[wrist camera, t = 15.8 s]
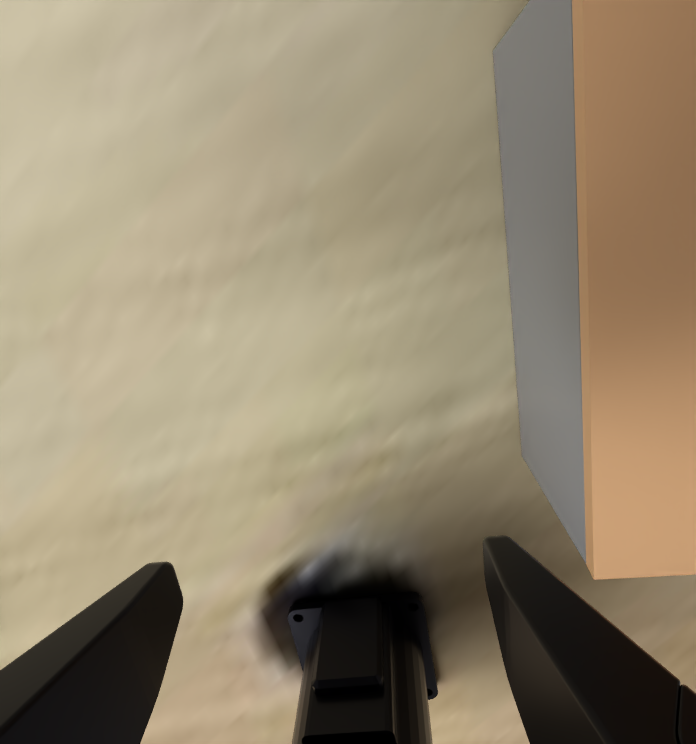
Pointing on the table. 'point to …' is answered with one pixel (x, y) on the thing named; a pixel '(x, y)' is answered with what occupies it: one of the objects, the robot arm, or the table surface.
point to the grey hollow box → (544, 248)
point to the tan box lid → (637, 282)
